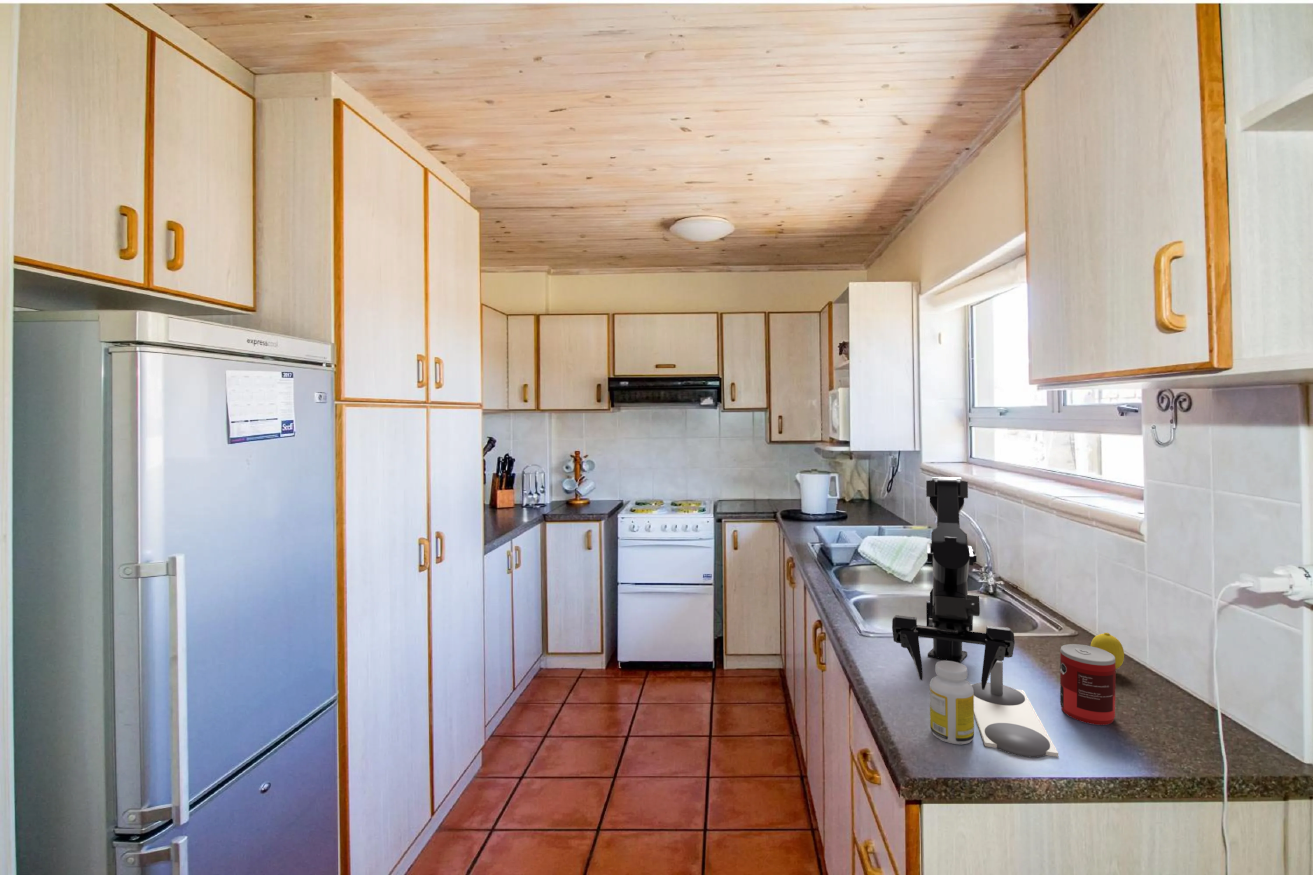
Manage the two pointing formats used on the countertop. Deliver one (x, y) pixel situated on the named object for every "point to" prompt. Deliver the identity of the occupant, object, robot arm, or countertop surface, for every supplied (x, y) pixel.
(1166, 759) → the countertop surface
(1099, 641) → the lemon
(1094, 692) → the canned food
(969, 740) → the pill bottle
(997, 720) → the board
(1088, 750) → the countertop surface
